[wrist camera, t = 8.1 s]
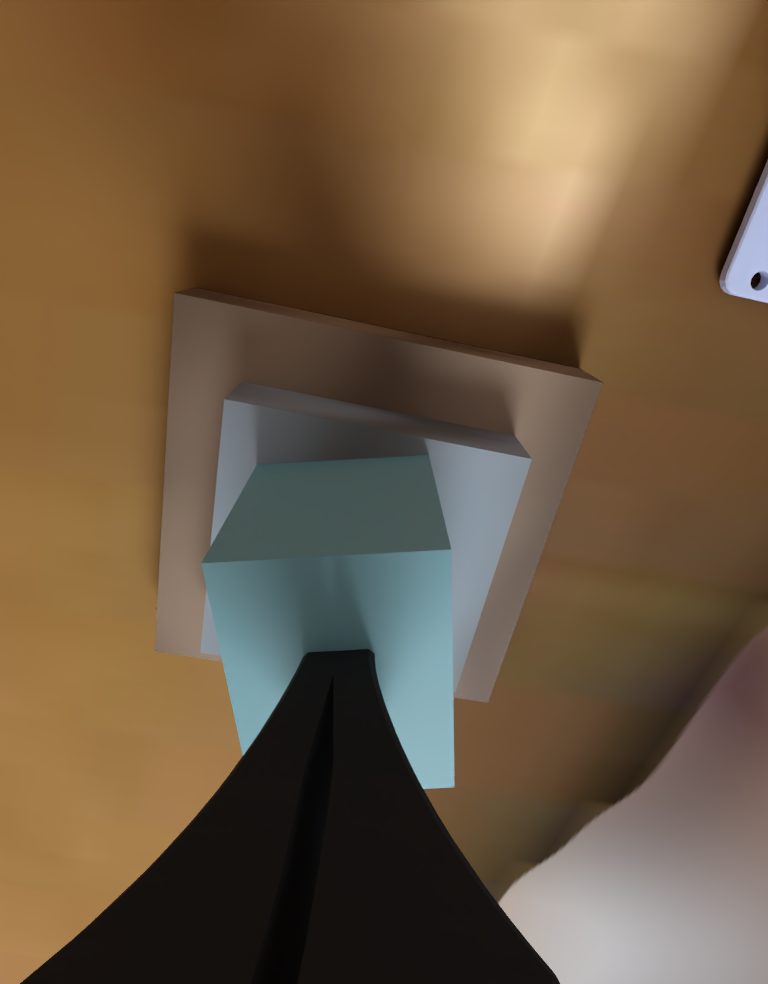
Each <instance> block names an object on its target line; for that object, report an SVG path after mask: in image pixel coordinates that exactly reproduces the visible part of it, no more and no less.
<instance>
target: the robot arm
mask: <svg viewBox="0 0 768 984" xmlns="http://www.w3.org/2000/svg"><path fill="white" fill-rule="evenodd" d="M758 272H759V273H760V276H761V280H760V283H759V284H758V286H757V287H755V288H754V289H752V287H751V279H752V277H753V276H754V275H755V274H756V273H758ZM719 281H720V287H721V288H722V290H723V291H724V292H726V293H728V294H730V295H734V296H739V297H743V298H747V299H752V300H756V301H761V302H765V303H768V160H767V163H766V165H765V168H764V170H763V172H762V175H761V177H760V180H759V182H758V185H757V187H756V189H755V192H754V194H753V197H752V199H751V202H750V204H749V206H748V209H747V211H746V214H745V216H744V218H743V221H742V223H741V226H740V228H739V231H738V233H737V235H736V238H735V240H734V243H733V245H732V248H731V250H730V252H729V255H728V257H727V260H726V262H725V265H724V267H723V269H722V272H721V275H720V280H719ZM20 984H560V983H559V981H558V979H557V977H556V975H555V974H554V973H553V971H552V970H551V969H550V968H549V966H548V965H547V964H546V963H545V962H544V961H543V959H542V958H541V957H540V956H539V955H538V953H537V952H536V951H535V950H534V949H533V948H532V946H531V945H530V944H529V943H528V941H527V940H526V939H525V938H524V936H523V935H522V934H521V933H520V931H519V930H518V929H517V928H516V926H515V925H514V924H513V923H512V921H511V920H510V919H509V918H508V916H507V915H506V914H505V912H504V911H503V910H502V908H501V907H500V906H499V904H498V903H497V902H496V900H495V899H494V898H493V896H492V895H491V894H490V892H489V891H488V890H487V888H486V887H485V886H484V884H483V883H482V881H481V880H480V878H479V877H478V875H477V874H476V873H475V871H474V870H473V868H472V867H471V865H470V864H469V862H468V861H467V859H466V858H465V856H464V855H463V853H462V852H461V851H460V849H459V848H458V846H457V845H456V843H455V842H454V840H453V839H452V837H451V836H450V834H449V832H448V831H447V829H446V827H445V826H444V824H443V823H442V821H441V819H440V818H439V816H438V814H437V813H436V811H435V809H434V807H433V806H432V804H431V802H430V800H429V799H428V797H427V795H426V793H425V791H424V790H423V788H422V786H421V784H420V782H419V780H418V778H417V776H416V774H415V772H414V770H413V768H412V766H411V764H410V762H409V760H408V758H407V756H406V754H405V752H404V749H403V747H402V745H401V743H400V740H399V738H398V736H397V734H396V731H395V728H394V726H393V723H392V721H391V718H390V716H389V713H388V710H387V708H386V705H385V702H384V699H383V696H382V692H381V689H380V685H379V682H378V677H377V673H376V664H375V653H373V652H372V651H371V650H369V649H359V650H342V651H323V652H308V653H307V654H306V655H305V656H304V657H303V658H302V660H301V662H300V664H299V666H298V668H297V670H296V672H295V674H294V676H293V678H292V679H291V681H290V683H289V685H288V687H287V688H286V690H285V692H284V694H283V695H282V697H281V699H280V700H279V702H278V704H277V705H276V707H275V709H274V710H273V712H272V713H271V715H270V717H269V718H268V720H267V721H266V723H265V724H264V726H263V728H262V729H261V731H260V732H259V734H258V735H257V737H256V738H255V740H254V741H253V743H252V744H251V745H250V747H249V748H248V750H247V751H246V752H245V754H244V755H243V757H242V758H241V759H240V761H239V762H238V764H237V765H236V766H235V768H234V769H233V771H232V772H231V773H230V775H229V776H228V777H227V779H226V780H225V781H224V782H223V784H222V785H221V786H220V788H219V789H218V790H217V791H216V793H215V794H214V795H213V796H212V798H211V799H210V800H209V801H208V802H207V804H206V805H205V806H204V807H203V808H202V810H201V811H200V812H199V813H198V814H197V816H196V817H195V818H194V819H193V820H192V821H191V823H190V824H189V825H188V826H187V827H186V828H185V829H184V830H183V831H182V833H181V834H180V835H179V836H178V837H177V838H176V839H175V840H174V841H173V842H172V844H171V845H170V846H169V847H168V848H167V849H166V850H165V851H164V852H163V853H162V854H161V855H160V857H159V858H158V859H157V860H156V861H155V862H154V863H153V864H152V865H151V866H150V867H149V868H148V869H147V870H146V871H145V872H144V873H143V874H142V875H141V876H140V877H139V878H138V879H137V880H136V881H135V882H134V883H133V884H132V885H131V886H130V887H128V888H127V889H126V890H125V891H124V892H123V893H122V894H121V895H120V896H119V897H118V898H117V899H116V900H115V901H114V902H113V903H112V904H111V905H110V906H108V907H107V908H106V909H105V910H104V911H103V912H102V913H101V914H100V915H99V916H98V917H97V918H96V919H95V920H94V921H93V922H92V923H91V924H90V925H88V926H87V927H86V928H85V929H84V930H83V931H82V932H81V933H79V934H78V935H77V936H76V937H75V938H74V939H73V940H72V941H70V942H69V943H68V944H67V945H66V946H64V947H63V948H62V949H61V950H60V951H58V952H57V953H56V954H55V955H54V956H52V957H51V958H50V959H49V960H48V961H46V962H45V963H44V964H43V965H42V966H40V967H39V968H38V969H37V970H36V971H35V972H33V973H32V974H31V975H30V976H29V977H27V978H26V979H25V980H24V981H23V982H21V983H20Z"/></svg>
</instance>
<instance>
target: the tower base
mask: <svg viewBox="0 0 768 984" xmlns="http://www.w3.org/2000/svg"><path fill="white" fill-rule="evenodd" d="M602 385H603V382H601V381H600V380H598V379H597V378H595V377H593V376H592V375H590V374H588V373H587V372H585V371H583V370H582V369H579V368H575V367H570V366H565V365H560V364H556V363H551V362H546V361H541V360H537V359H532V358H527V357H522V356H518V355H513V354H508V353H503V352H499V351H494V350H489V349H485V348H480V347H475V346H470V345H466V344H461V343H456V342H451V341H447V340H442V339H437V338H432V337H428V336H423V335H418V334H413V333H409V332H404V331H399V330H394V329H390V328H385V327H380V326H376V325H371V324H366V323H361V322H357V321H352V320H347V319H342V318H338V317H333V316H328V315H323V314H319V313H314V312H309V311H304V310H300V309H295V308H290V307H285V306H281V305H276V304H271V303H267V302H262V301H257V300H252V299H248V298H243V297H238V296H233V295H229V294H224V293H219V292H214V291H210V290H205V289H200V288H193V289H189V290H184V291H180V292H175V293H174V306H173V324H172V342H171V361H170V379H169V397H168V416H167V434H166V452H165V471H164V489H163V507H162V526H161V544H160V562H159V581H158V599H157V618H156V636H155V651H157V652H163V653H170V654H176V655H183V656H189V657H196V658H202V659H209V660H215V661H222V657H221V652H220V648H219V643H218V638H217V634H216V629H215V625H214V620H213V615H212V611H211V606H210V602H209V597H208V592H207V588H206V583H205V578H204V574H203V569H202V565H201V563H202V561H203V559H204V557H205V556H206V554H207V552H208V550H209V549H210V547H211V545H212V543H213V542H214V540H215V538H216V536H217V534H218V533H219V531H220V529H221V527H222V526H223V524H224V522H225V520H226V518H227V517H228V515H229V513H230V511H231V510H232V508H233V506H234V504H235V502H236V501H237V499H238V497H239V495H240V494H241V492H242V490H243V488H244V486H245V485H246V483H247V481H248V479H249V478H250V476H251V474H252V472H253V470H254V469H255V467H256V465H264V464H281V463H298V462H316V461H333V460H350V459H367V458H385V457H402V456H419V455H429V457H430V462H431V466H432V470H433V474H434V478H435V483H436V487H437V491H438V495H439V499H440V504H441V508H442V512H443V516H444V520H445V524H446V529H447V533H448V537H449V541H450V545H451V550H452V631H453V697H455V698H461V699H468V700H474V701H481V702H487V703H488V701H489V698H490V695H491V693H492V690H493V687H494V684H495V682H496V679H497V676H498V673H499V670H500V668H501V665H502V662H503V659H504V657H505V654H506V651H507V648H508V646H509V643H510V640H511V637H512V634H513V632H514V629H515V626H516V623H517V621H518V618H519V615H520V612H521V610H522V607H523V604H524V601H525V598H526V596H527V593H528V590H529V587H530V585H531V582H532V579H533V576H534V574H535V571H536V568H537V565H538V563H539V560H540V557H541V554H542V551H543V549H544V546H545V543H546V540H547V538H548V535H549V532H550V529H551V527H552V524H553V521H554V518H555V515H556V513H557V510H558V507H559V504H560V502H561V499H562V496H563V493H564V491H565V488H566V485H567V482H568V479H569V477H570V474H571V471H572V468H573V466H574V463H575V460H576V457H577V455H578V452H579V449H580V446H581V443H582V441H583V438H584V435H585V432H586V430H587V427H588V424H589V421H590V419H591V416H592V413H593V410H594V408H595V405H596V402H597V399H598V396H599V394H600V391H601V388H602Z"/></svg>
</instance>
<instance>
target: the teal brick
mask: <svg viewBox="0 0 768 984" xmlns="http://www.w3.org/2000/svg"><path fill="white" fill-rule="evenodd" d="M201 565H202V569H203V574H204V578H205V583H206V588H207V592H208V597H209V602H210V606H211V611H212V615H213V620H214V625H215V629H216V634H217V638H218V643H219V648H220V652H221V657H222V662H223V666H224V671H225V675H226V680H227V685H228V689H229V694H230V699H231V703H232V708H233V712H234V717H235V722H236V726H237V731H238V736H239V740H240V745H241V749H242V754H243V755H244V754H245V752H246V751H247V750H248V748H249V747H250V745H251V744H252V743H253V741H254V740H255V738H256V737H257V735H258V734H259V732H260V731H261V729H262V728H263V726H264V724H265V723H266V721H267V720H268V718H269V717H270V715H271V713H272V712H273V710H274V709H275V707H276V705H277V704H278V702H279V700H280V699H281V697H282V695H283V694H284V692H285V690H286V688H287V687H288V685H289V683H290V681H291V679H292V678H293V676H294V674H295V672H296V670H297V668H298V666H299V664H300V662H301V660H302V658H303V657H304V656H305V655H306V654H307V653H308V652H323V651H342V650H359V649H369V650H371V651H372V652H373V653H375V664H376V673H377V677H378V682H379V685H380V689H381V692H382V696H383V699H384V702H385V705H386V708H387V710H388V713H389V716H390V718H391V721H392V723H393V726H394V728H395V731H396V734H397V736H398V738H399V740H400V743H401V745H402V747H403V749H404V752H405V754H406V756H407V758H408V760H409V762H410V764H411V766H412V768H413V770H414V772H415V774H416V776H417V778H418V780H419V782H420V784H421V786H422V788H423V789H428V788H449V787H454V713H453V631H452V550H451V545H450V541H449V537H448V533H447V529H446V524H445V520H444V516H443V512H442V508H441V504H440V499H439V495H438V491H437V487H436V483H435V478H434V474H433V470H432V466H431V462H430V457H429V455H419V456H402V457H385V458H367V459H350V460H333V461H316V462H298V463H281V464H264V465H256V467H255V469H254V470H253V472H252V474H251V476H250V478H249V479H248V481H247V483H246V485H245V486H244V488H243V490H242V492H241V494H240V495H239V497H238V499H237V501H236V502H235V504H234V506H233V508H232V510H231V511H230V513H229V515H228V517H227V518H226V520H225V522H224V524H223V526H222V527H221V529H220V531H219V533H218V534H217V536H216V538H215V540H214V542H213V543H212V545H211V547H210V549H209V550H208V552H207V554H206V556H205V557H204V559H203V561H202V563H201Z"/></svg>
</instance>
